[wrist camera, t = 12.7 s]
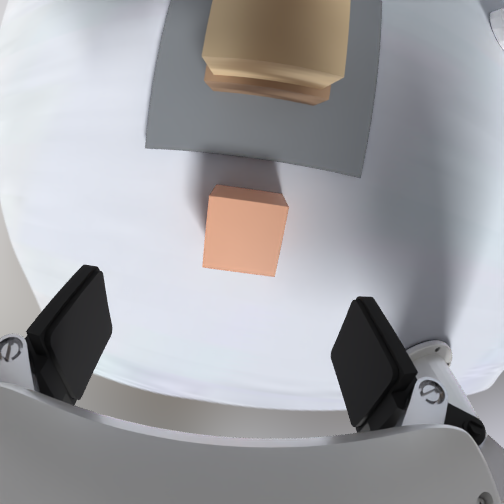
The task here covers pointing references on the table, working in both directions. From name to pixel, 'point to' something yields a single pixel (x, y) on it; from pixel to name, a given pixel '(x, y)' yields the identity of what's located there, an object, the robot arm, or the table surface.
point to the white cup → (498, 25)
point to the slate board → (263, 100)
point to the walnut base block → (266, 88)
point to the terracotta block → (244, 230)
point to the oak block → (279, 40)
